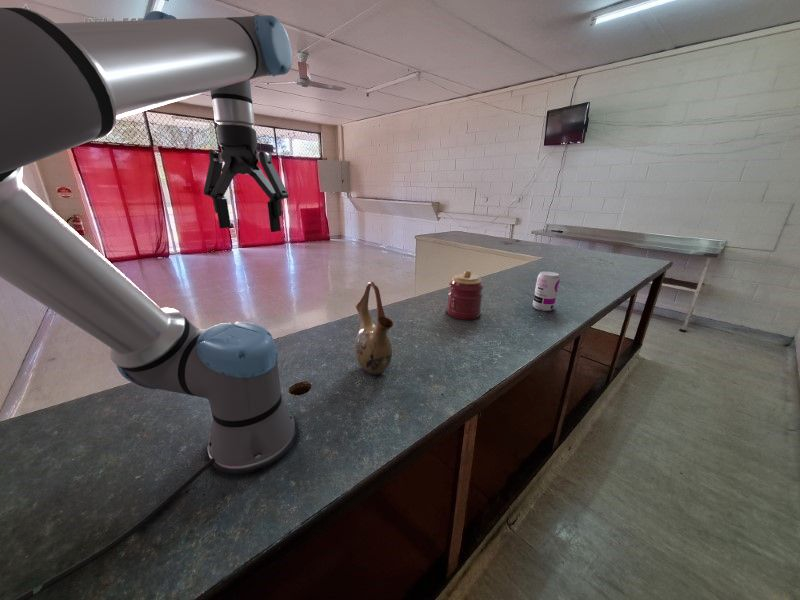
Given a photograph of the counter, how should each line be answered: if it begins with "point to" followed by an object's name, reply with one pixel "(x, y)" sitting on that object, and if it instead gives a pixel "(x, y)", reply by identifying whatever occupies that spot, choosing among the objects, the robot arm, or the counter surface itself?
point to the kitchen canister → (465, 296)
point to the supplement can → (546, 290)
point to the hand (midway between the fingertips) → (250, 229)
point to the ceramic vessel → (373, 336)
